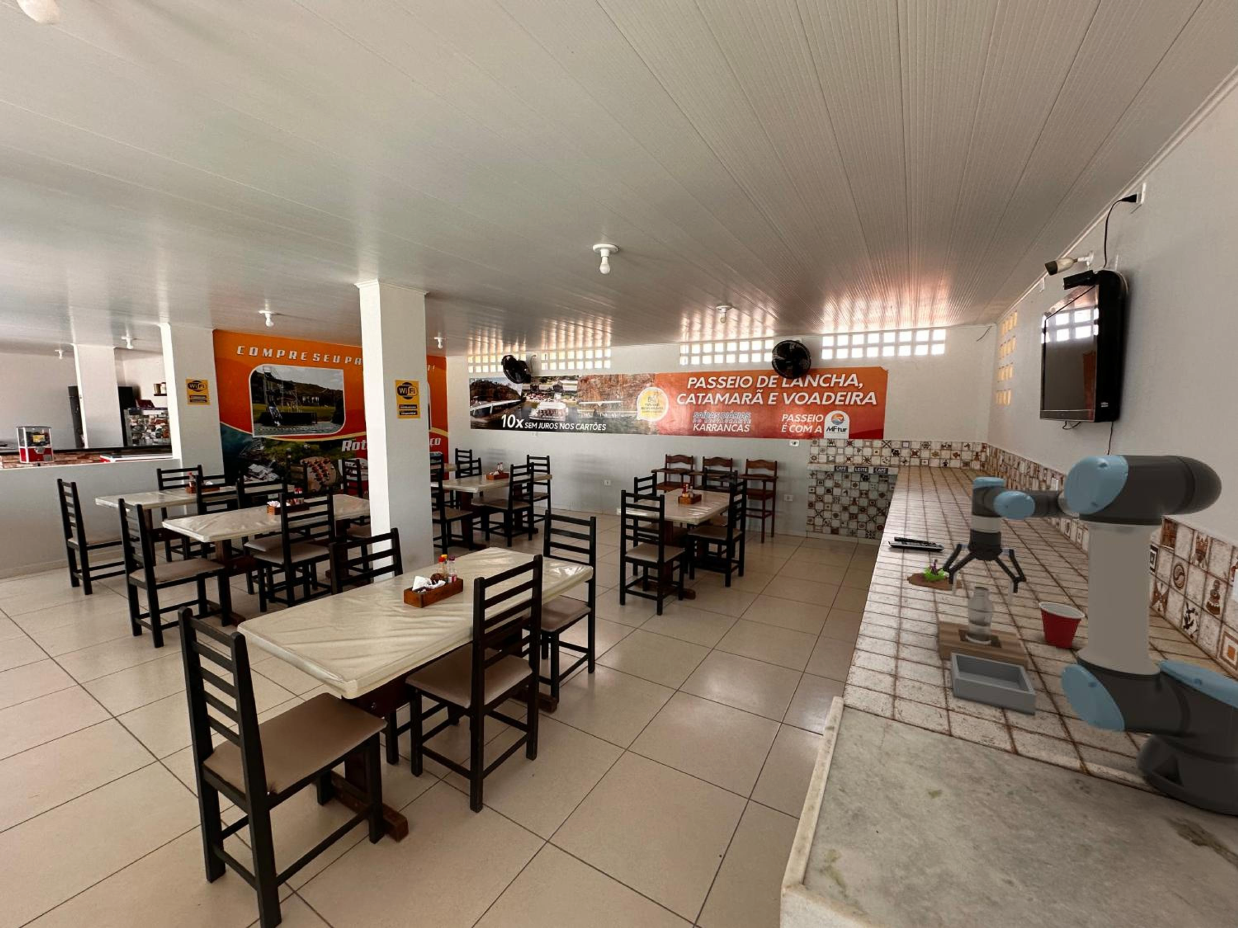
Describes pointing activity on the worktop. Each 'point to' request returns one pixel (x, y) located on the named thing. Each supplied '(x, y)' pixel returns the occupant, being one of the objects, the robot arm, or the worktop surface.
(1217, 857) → the worktop surface
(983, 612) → the plastic bottle
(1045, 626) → the plastic cup
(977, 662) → the slate tray
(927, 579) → the plant
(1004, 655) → the walnut frame
